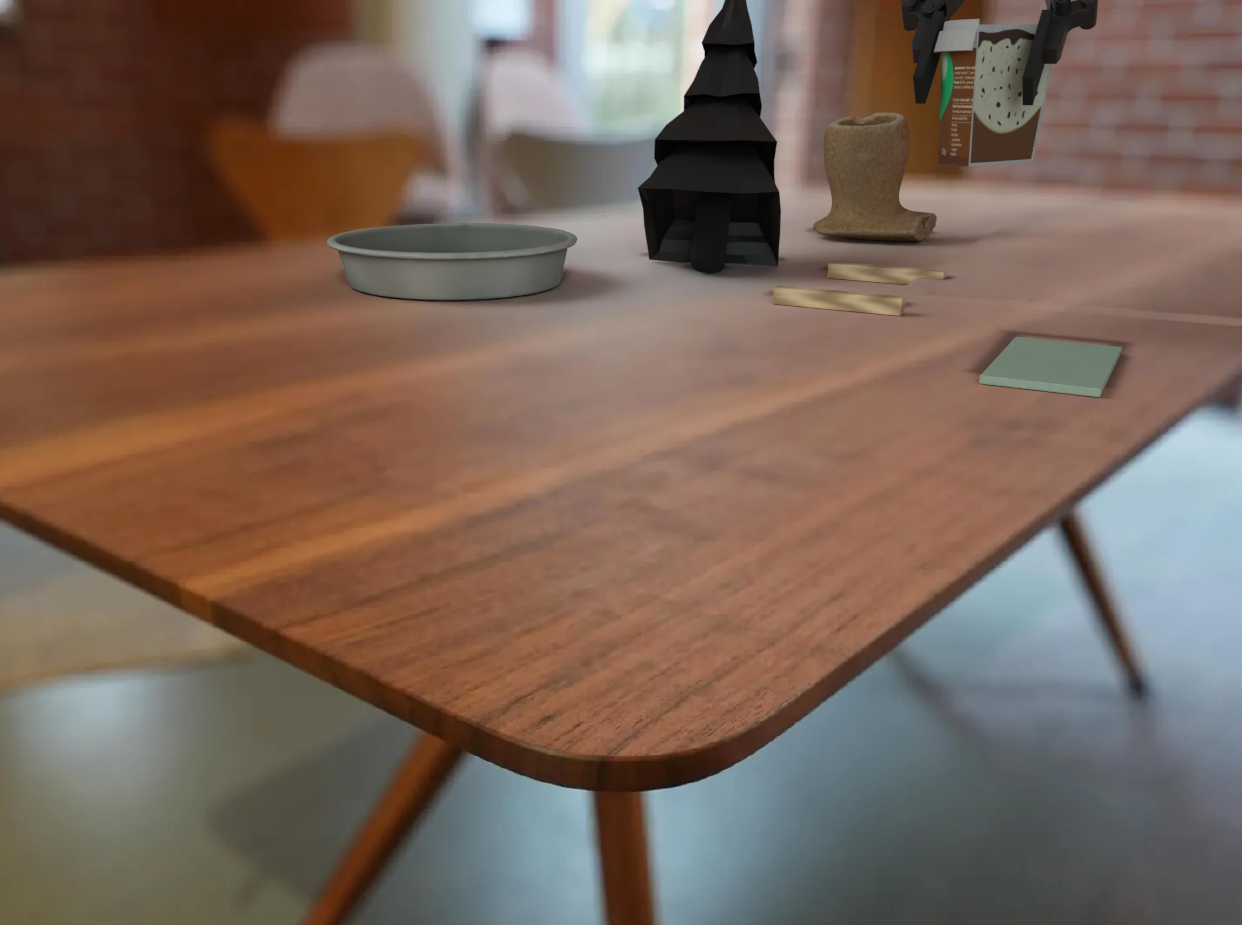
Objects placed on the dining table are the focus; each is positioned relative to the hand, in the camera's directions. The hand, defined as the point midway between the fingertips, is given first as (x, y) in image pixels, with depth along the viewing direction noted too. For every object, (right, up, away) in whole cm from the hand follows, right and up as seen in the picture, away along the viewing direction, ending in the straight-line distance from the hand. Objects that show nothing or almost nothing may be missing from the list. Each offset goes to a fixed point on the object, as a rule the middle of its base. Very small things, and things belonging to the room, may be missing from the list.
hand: (972, 90), depth 89 cm
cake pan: (-43, -6, +29) cm, 52 cm away
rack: (-3, -8, +25) cm, 27 cm away
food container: (+1, -3, +5) cm, 7 cm away
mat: (+5, -22, -3) cm, 22 cm away
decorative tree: (-16, 0, +42) cm, 45 cm away
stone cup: (+6, +9, +61) cm, 63 cm away
